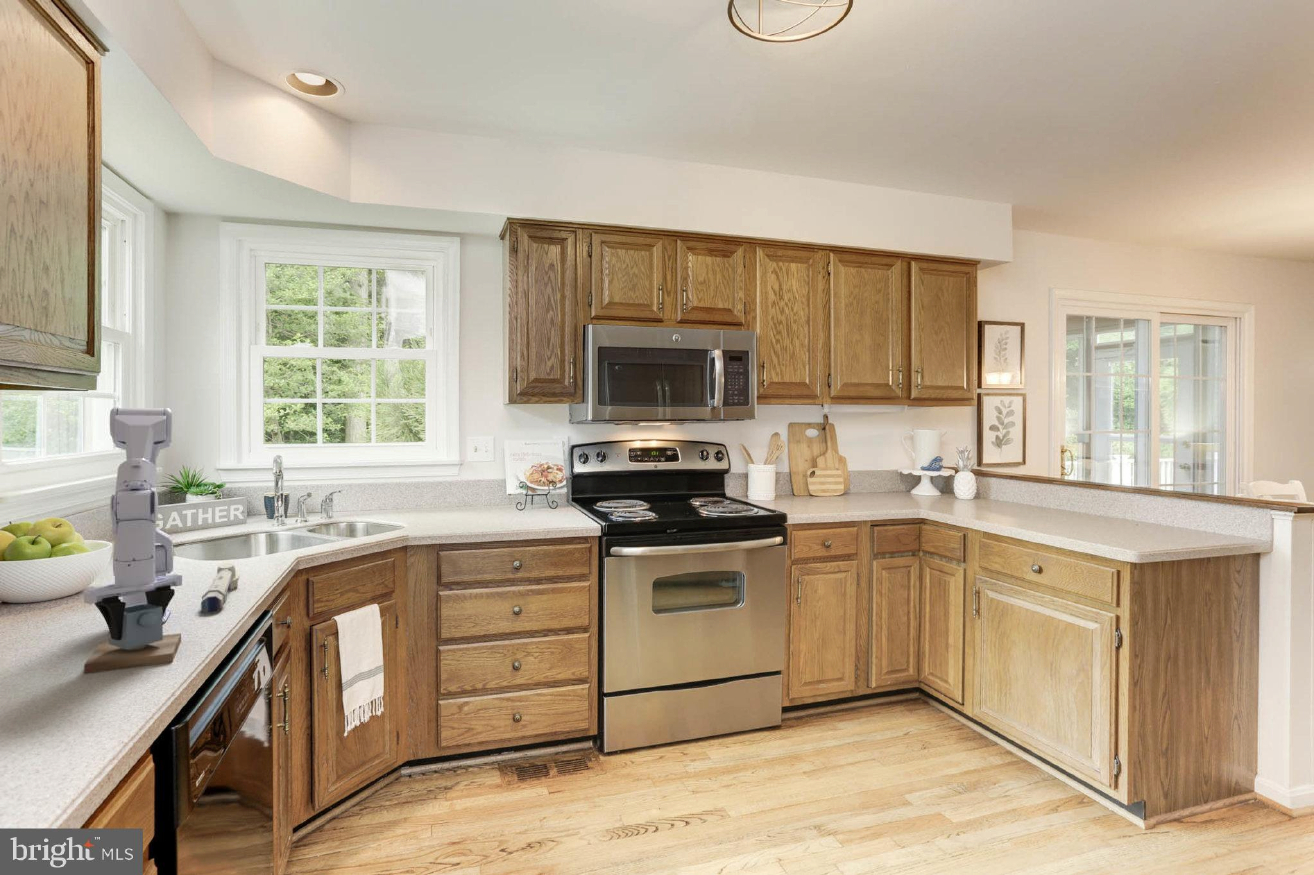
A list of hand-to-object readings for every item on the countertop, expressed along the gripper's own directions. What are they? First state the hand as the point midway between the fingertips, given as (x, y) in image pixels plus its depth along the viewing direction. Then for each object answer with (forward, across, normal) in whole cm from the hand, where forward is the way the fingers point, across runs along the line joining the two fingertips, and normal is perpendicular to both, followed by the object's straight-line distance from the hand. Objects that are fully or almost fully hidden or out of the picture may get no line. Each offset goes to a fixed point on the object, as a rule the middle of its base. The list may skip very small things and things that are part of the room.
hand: (135, 634), depth 122 cm
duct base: (+4, 0, 0) cm, 4 cm away
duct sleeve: (+1, 0, 0) cm, 1 cm away
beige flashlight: (+4, +30, +25) cm, 39 cm away
